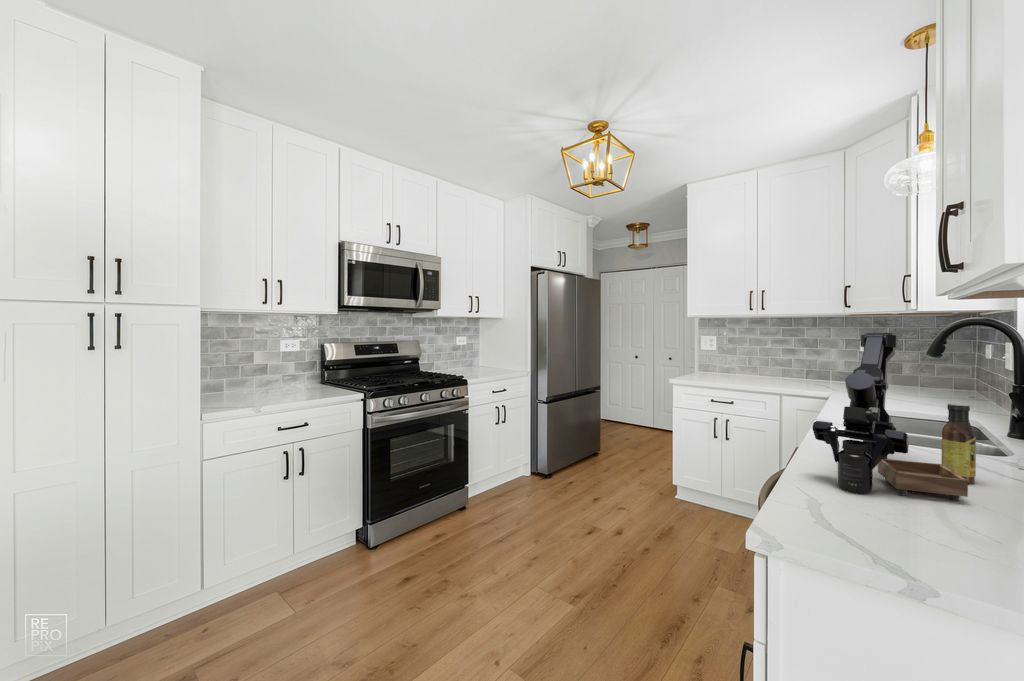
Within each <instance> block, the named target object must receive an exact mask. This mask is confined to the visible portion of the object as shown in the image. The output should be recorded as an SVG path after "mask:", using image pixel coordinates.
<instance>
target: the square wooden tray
mask: <svg viewBox="0 0 1024 681" xmlns="http://www.w3.org/2000/svg"><path fill="white" fill-rule="evenodd" d="M877 472H878V474H880V476H882V477H883V478H884V480H885V482H886V483H889V484H890V485H892V486H893V487H894V488H895V489H896V490H897V492H898V494H899V495H901V496H907V495H908V491H914V492H923V493H931V494H938V495H947V497H948V499H949V500H950V501H952V502H959V501H960V497H965V498H968V495H969V493H968V492H969V491H968V490H969V486H968V485H969V483H968V480H966V479H964V478H963V477H961V476H960V475H958V474H956V473H955V472H953V471H952V470H950V469H948V468H947V467H945V466H944V465H942V463H932V462H921V461H920V462H919V461H909V460H899V459H889V458H887V459H882V460H881V461H880V462H879V463H878V464H877Z"/></svg>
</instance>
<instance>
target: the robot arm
mask: <svg viewBox="0 0 1024 681" xmlns="http://www.w3.org/2000/svg"><path fill="white" fill-rule="evenodd" d="M860 347H861V348H863V352H862V356H861V362H860V365H859V367H857V368H855V369H854V370H853V372H852V373H850V374H849V375H847V376H846V377H845V380H844V381H845V388H846V392H847V396H848V399H849V401H850V402H849V406H844V407H843V408H844V409H843V417H842V419H843V422H842V424H843V427H845V428H838V427H836V426H834V425H833V422H830V421H823V420H822V421H821V420H815V421H814V422H813V424H812V428H811V429H812V432H813V435H814V438H815V440H817V441H822V442H824V443H825V444H827V445H830V448H831V451H832V455H833V460H834V463H838V453H839V452H840V441H839V437H841V438H849V440H858V441H863V442H865V443H867V449H868V451H867V452H866V453H867V454H869V455H870V456H871V457H872V460H871V469H872V470H874V469H875V468H876V467H877V466H878V463H879V462H880V461H881V460H882V459H888V455H894V454H896V453H898V454H899V453H900V454H908V453H909V435H908V433H906V432H905V431H901V430H897V427H895V425H894V423H893V422H892V418H891V417H890V415H889V413H888V412H887V410H886V393H887V390H888V389H889V384H888V383H887V380H888V379H887V378H888V376H887V375H888V364H889V363H888V362H889V361H890V360H891V359H892V358H893V357H894V356H895V355H896V349H897V348H899V335H896V334H894V333H893V332H867V333H865V334H861V335H860Z"/></svg>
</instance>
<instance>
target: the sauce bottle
mask: <svg viewBox="0 0 1024 681" xmlns="http://www.w3.org/2000/svg"><path fill="white" fill-rule="evenodd" d="M970 407H971V406H970V405H969V404H964V403H955V402H954V403H952V402H951V403H947V410H948V412H947V413H948V417H947V420H948V421H947V422H946V423H945V425H944V426H943V427H942V429H941V434H942V436H941V464H942V465H944V466H945V467H947V468H948V469H950V470H952V471H953V472H955V473H956V474H958V475H960V476H961V477H963V478H964V479H966V480H968V484H973V483H975V482H976V478H975V477H976V474H977V473H976V472H977V471H976V470H977V468H976V466H977V464H976V462H977V435H976V434H975V431H974V429H973V427H972V425H971V423H970V419H969V418H970V410H971V408H970Z"/></svg>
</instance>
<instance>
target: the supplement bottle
mask: <svg viewBox="0 0 1024 681" xmlns="http://www.w3.org/2000/svg"><path fill="white" fill-rule="evenodd" d="M841 448H842V450H839V453H838V461H837V486H838V488H839V489H840V488H841V491H844V490H845V492H847V491H848V492H847V493H851V494H856V493H857V494H856V495H868V494H871V493H872V492H873V469H871V460H872V457H871V456H870V455H869V454H867V453H866V452H867V451H868V449H867V443H865V442H863V440H857V439H843V440H842V445H841Z"/></svg>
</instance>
